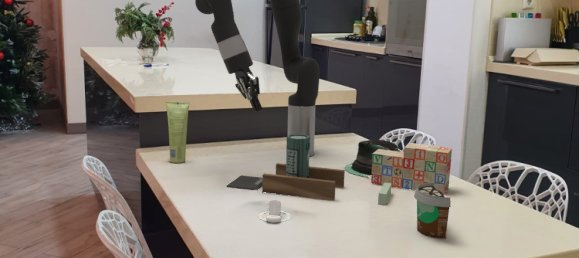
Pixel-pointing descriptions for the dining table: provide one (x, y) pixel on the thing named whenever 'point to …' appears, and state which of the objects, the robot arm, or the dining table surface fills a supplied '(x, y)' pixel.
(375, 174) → the stack of blocks
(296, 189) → the lane
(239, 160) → the dining table surface
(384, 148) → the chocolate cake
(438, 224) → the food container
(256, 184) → the mat
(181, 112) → the tube
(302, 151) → the can
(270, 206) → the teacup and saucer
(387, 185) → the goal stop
